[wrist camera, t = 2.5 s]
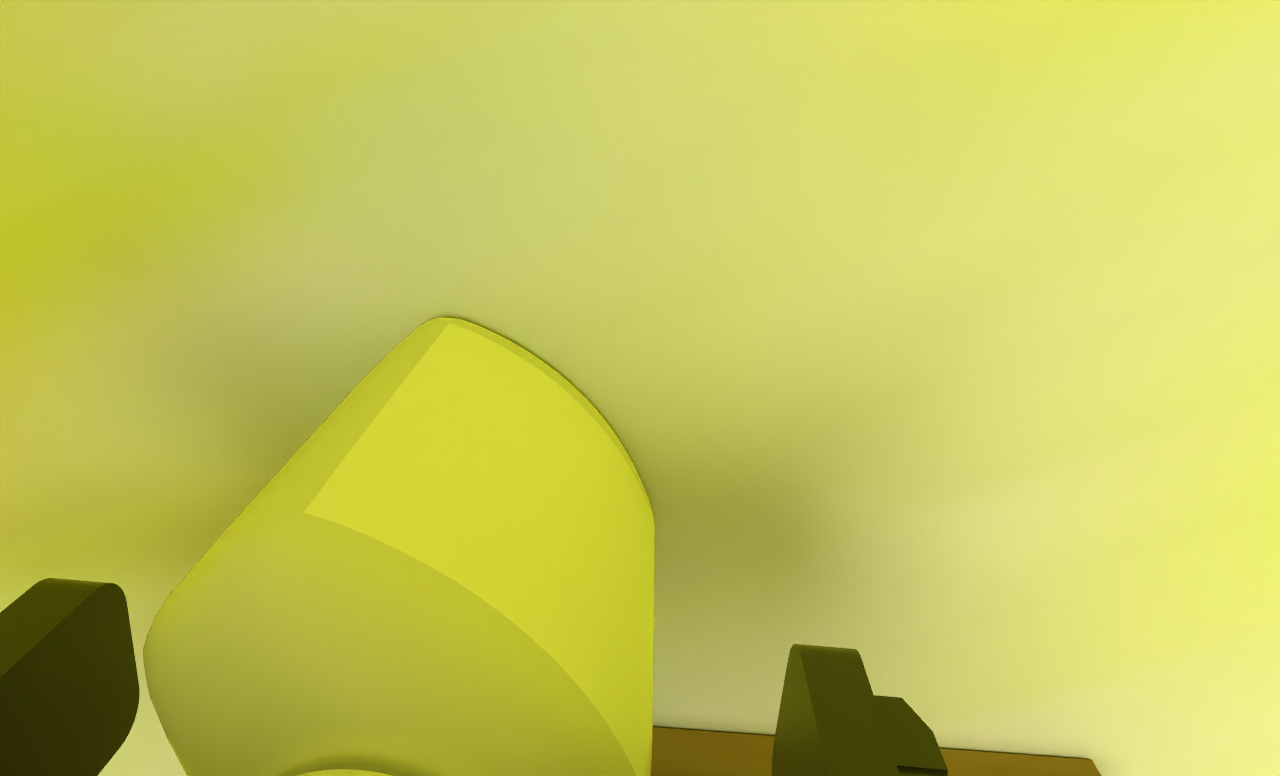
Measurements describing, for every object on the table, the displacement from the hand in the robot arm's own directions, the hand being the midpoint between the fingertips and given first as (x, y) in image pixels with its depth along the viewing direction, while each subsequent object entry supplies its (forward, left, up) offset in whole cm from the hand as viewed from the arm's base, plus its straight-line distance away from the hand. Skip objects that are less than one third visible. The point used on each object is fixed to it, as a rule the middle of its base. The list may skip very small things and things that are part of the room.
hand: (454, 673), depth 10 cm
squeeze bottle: (0, 0, -6) cm, 6 cm away
